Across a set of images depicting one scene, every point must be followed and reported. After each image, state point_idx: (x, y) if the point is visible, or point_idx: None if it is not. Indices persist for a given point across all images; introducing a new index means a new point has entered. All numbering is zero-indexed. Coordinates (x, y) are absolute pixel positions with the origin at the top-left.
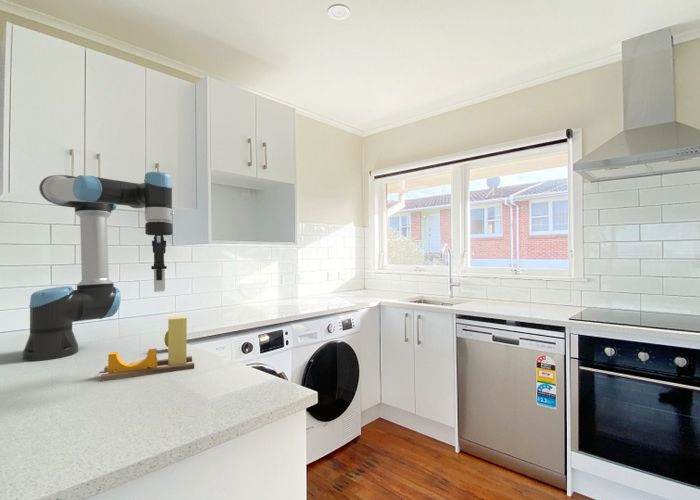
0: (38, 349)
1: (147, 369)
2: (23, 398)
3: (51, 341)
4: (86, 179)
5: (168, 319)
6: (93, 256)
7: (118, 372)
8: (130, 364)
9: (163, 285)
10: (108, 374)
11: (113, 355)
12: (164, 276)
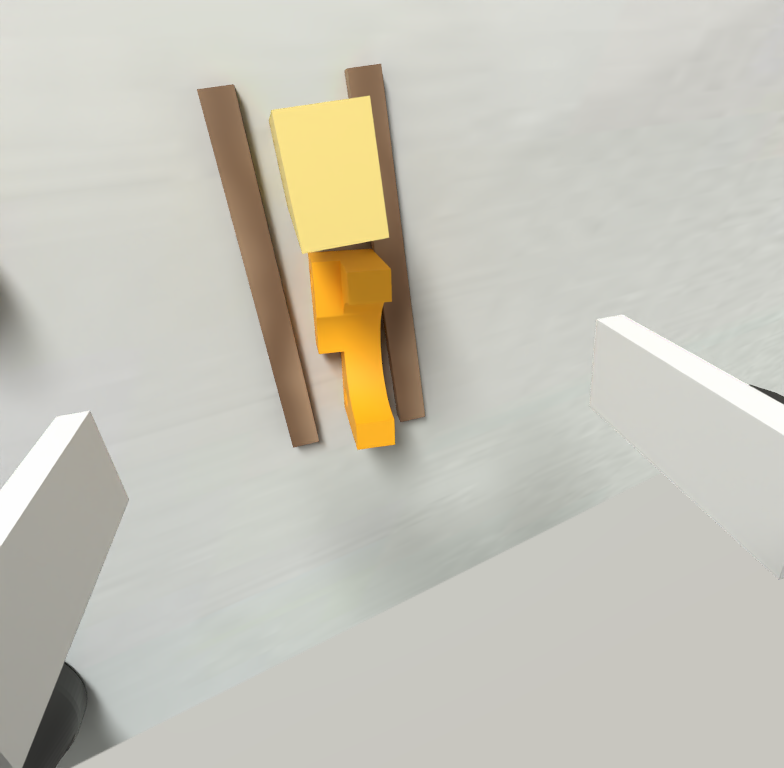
0: (68, 734)
1: (392, 278)
2: (497, 528)
3: (35, 740)
4: None
5: (327, 247)
6: None
7: (395, 375)
8: (350, 356)
9: (664, 346)
10: (408, 400)
11: (393, 425)
12: (12, 534)
